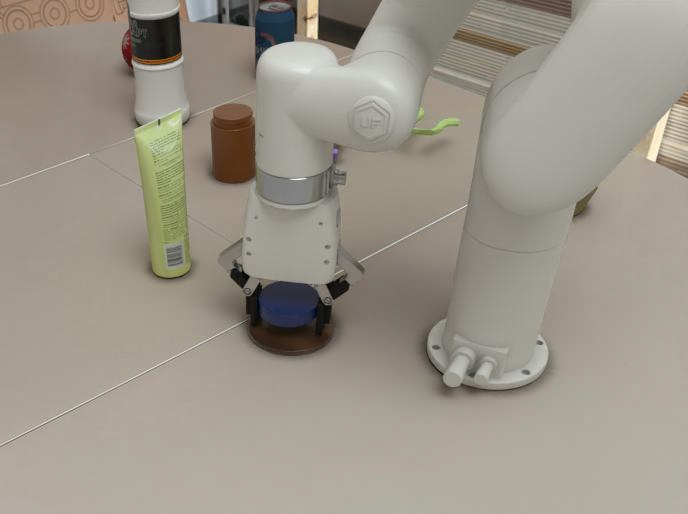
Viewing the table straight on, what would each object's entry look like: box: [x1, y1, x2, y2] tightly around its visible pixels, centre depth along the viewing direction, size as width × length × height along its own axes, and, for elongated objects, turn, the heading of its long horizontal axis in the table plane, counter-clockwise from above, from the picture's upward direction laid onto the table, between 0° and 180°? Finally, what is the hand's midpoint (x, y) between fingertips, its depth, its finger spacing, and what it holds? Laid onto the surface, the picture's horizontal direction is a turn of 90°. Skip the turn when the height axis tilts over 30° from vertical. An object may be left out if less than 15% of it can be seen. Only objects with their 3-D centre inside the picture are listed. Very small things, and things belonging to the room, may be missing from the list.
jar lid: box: [258, 280, 320, 327], centre depth 92 cm, size 7×7×2 cm
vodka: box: [125, 0, 191, 126], centre depth 128 cm, size 9×9×30 cm
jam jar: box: [209, 102, 256, 184], centre depth 120 cm, size 6×6×9 cm
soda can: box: [254, 0, 296, 72], centre depth 145 cm, size 7×7×12 cm
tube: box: [133, 108, 192, 279], centre depth 98 cm, size 6×5×20 cm
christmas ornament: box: [121, 28, 133, 70], centre depth 150 cm, size 9×9×10 cm
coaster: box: [247, 314, 336, 356], centre depth 94 cm, size 10×10×1 cm
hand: (288, 321), depth 94 cm, fingers closed on jar lid, 6 cm apart
